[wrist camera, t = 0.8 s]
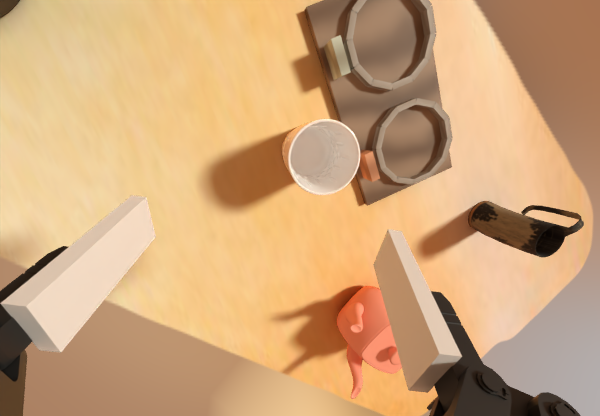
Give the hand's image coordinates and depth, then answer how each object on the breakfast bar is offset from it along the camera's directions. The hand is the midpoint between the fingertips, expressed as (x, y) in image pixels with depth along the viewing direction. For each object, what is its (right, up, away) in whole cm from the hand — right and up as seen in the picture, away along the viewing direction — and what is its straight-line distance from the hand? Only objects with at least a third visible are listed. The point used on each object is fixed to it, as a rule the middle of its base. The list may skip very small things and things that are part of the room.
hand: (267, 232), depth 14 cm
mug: (+35, +1, +31) cm, 47 cm away
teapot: (+13, -18, +33) cm, 40 cm away
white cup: (+2, +10, +22) cm, 24 cm away
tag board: (+14, +17, +22) cm, 31 cm away
